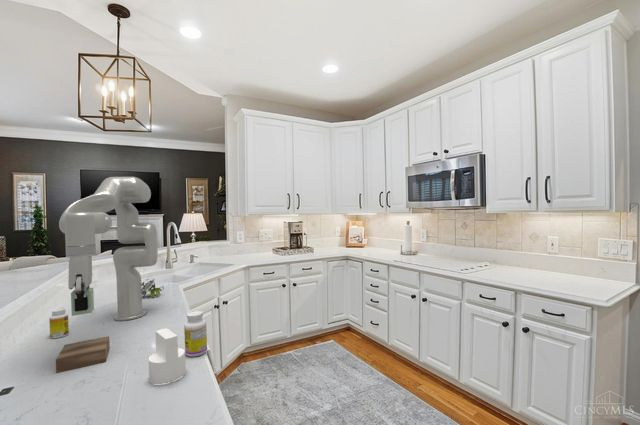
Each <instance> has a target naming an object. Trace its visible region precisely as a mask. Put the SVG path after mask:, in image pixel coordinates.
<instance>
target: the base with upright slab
mask: <svg viewBox="0 0 640 425" xmlns="http://www.w3.org/2000/svg"><path fill="white" fill-rule="evenodd" d="M178 343H179V342H178V335H177V334H176V333H174V332H173V331H172V330H170V329H169V328H167V327H166V328H161V329H158V330H155V347H156V348H155V351H156V352H154V353H152V354H151V355H150V356H149V357H148V378H149V379H148V381H150V382H149V384H150V385H152V384H162V383H168V382H172V381H174V380H176V379H178V378H180V377H181V376H183V375H184V373H185V374H186V356H185V355H186V354H185V348H181V347H179V344H178ZM184 376H185V375H184ZM184 376H183V377H184Z"/></svg>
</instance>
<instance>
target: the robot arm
mask: <svg viewBox="0 0 640 425" xmlns="http://www.w3.org/2000/svg"><path fill="white" fill-rule="evenodd" d="M151 191H152V190H151V189H150V187H149V185H148V184H147V183H146V182H144V180H142V179H141V178H139V177H136V176H109V177H107V178H105V179H104V180H102V181H101V184H100V185H99V186H98V187H97V189H96V190H95V192H94V193H93V194H90V195H89V196H86V197H84V198H81V199H79V200H77V201H74V202H73V203H71V204H70V205H69V206H68V207H66V209H65V210H64V211H63V213H62V214H61V216H60V217H59V221H58V227H59V230H60V231H61V232H62V233H63V234H64V240H65V258H69V259H68V289H69V290H73V289H74V290H75V299H74V301H75V311H76V312H77V311H83V310H87V309H88V297H86V289H87V288H91V287H90V285H91V284H92V283H93V260H92V259H93V258H92V256H95V255H97V251H96V235H99V234H105V233H107V232H108V231H110V230H111V228H112V227H113V221H112V217H111V216H110V215H109V214H108V212H111V211H115V213H116V237H117V238H116V239H117V241H118V242H119V243H120V244H123V245H124V244H127V245H128V244H129V245H130V244H131V245H133V244H145V245H138V246H136V245H135V246H122V247H118V248H117V249H116V250H114V252H113V255H112V261H113V264H114V268H115V274H116V298H117V300H116V301H117V313H116V314H114V316H113V320H114V321H121V322H122V321H130V320H134V319H138V318H141V317H144V316H145V315H147V310H146V309H143V298H142V296H143V295H142V287H143V286H141V284H142V275H141V274H140V272H139V271H138V269H136V268H143V267H145V268H146V267H153V266H155V265H156V264H157V262H158V254H159V253H158V230H157V227H156V225H155V224H154V223H152V222H148V221H147V222H144V221H143V222H142V221H141V222H140V221H139V220H140V219H139V211H138V209H137V208H136V207H135V206H134V205H133V204H136V203H137V204H139V203H140V204H141V203H142V204H143V203H144V204H145V203H147V202H149V201H150V199H151V196H152V192H151ZM83 289H84V291H83Z"/></svg>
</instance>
